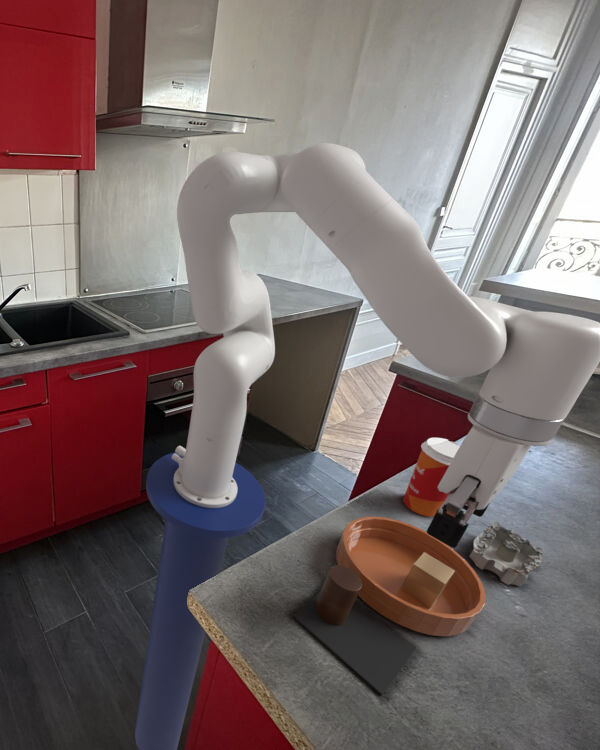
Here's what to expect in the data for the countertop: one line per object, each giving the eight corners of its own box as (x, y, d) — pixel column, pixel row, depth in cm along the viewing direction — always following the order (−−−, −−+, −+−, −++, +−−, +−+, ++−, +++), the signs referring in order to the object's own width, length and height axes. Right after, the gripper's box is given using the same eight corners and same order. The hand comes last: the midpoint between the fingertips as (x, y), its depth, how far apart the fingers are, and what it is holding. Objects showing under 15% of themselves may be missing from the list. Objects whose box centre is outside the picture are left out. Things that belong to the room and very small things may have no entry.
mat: (292, 617, 59) (293, 615, 59) (329, 583, 65) (329, 581, 64) (381, 696, 51) (382, 694, 50) (415, 649, 56) (416, 647, 56)
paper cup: (405, 487, 85) (432, 431, 79) (450, 509, 80) (482, 451, 74) (390, 502, 81) (416, 444, 75) (435, 527, 76) (468, 467, 70)
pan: (313, 566, 67) (321, 546, 65) (366, 520, 77) (374, 502, 75) (444, 665, 54) (459, 645, 52) (489, 595, 64) (502, 575, 62)
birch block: (400, 588, 64) (413, 563, 61) (410, 575, 66) (424, 551, 63) (429, 608, 61) (445, 584, 58) (440, 595, 63) (455, 570, 60)
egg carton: (516, 593, 64) (530, 575, 62) (460, 557, 70) (470, 540, 68) (540, 564, 69) (553, 547, 67) (486, 533, 75) (496, 516, 73)
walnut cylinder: (309, 608, 60) (323, 573, 57) (324, 594, 62) (338, 560, 59) (336, 631, 57) (353, 596, 54) (350, 616, 59) (367, 581, 56)
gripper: (496, 387, 56) (446, 485, 63) (447, 424, 47) (396, 533, 54) (574, 411, 50) (509, 515, 58) (535, 458, 41) (465, 574, 49)
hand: (454, 524), depth 56 cm, fingers open, 9 cm apart
